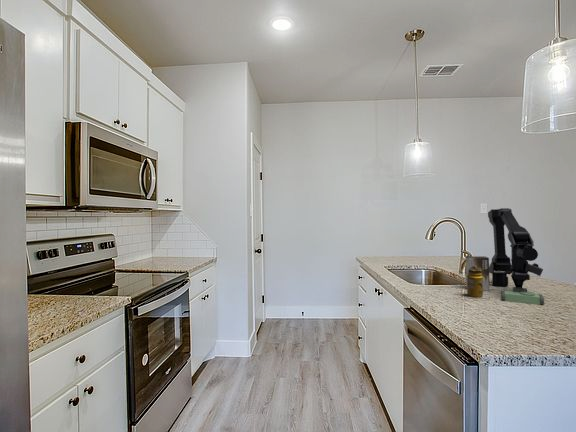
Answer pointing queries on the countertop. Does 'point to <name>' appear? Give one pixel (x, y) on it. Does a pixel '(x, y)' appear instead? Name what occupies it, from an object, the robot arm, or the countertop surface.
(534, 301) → the green toy cart
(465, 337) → the countertop surface
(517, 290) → the stepped grey block
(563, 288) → the countertop surface
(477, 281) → the condiment
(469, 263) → the coffee box
